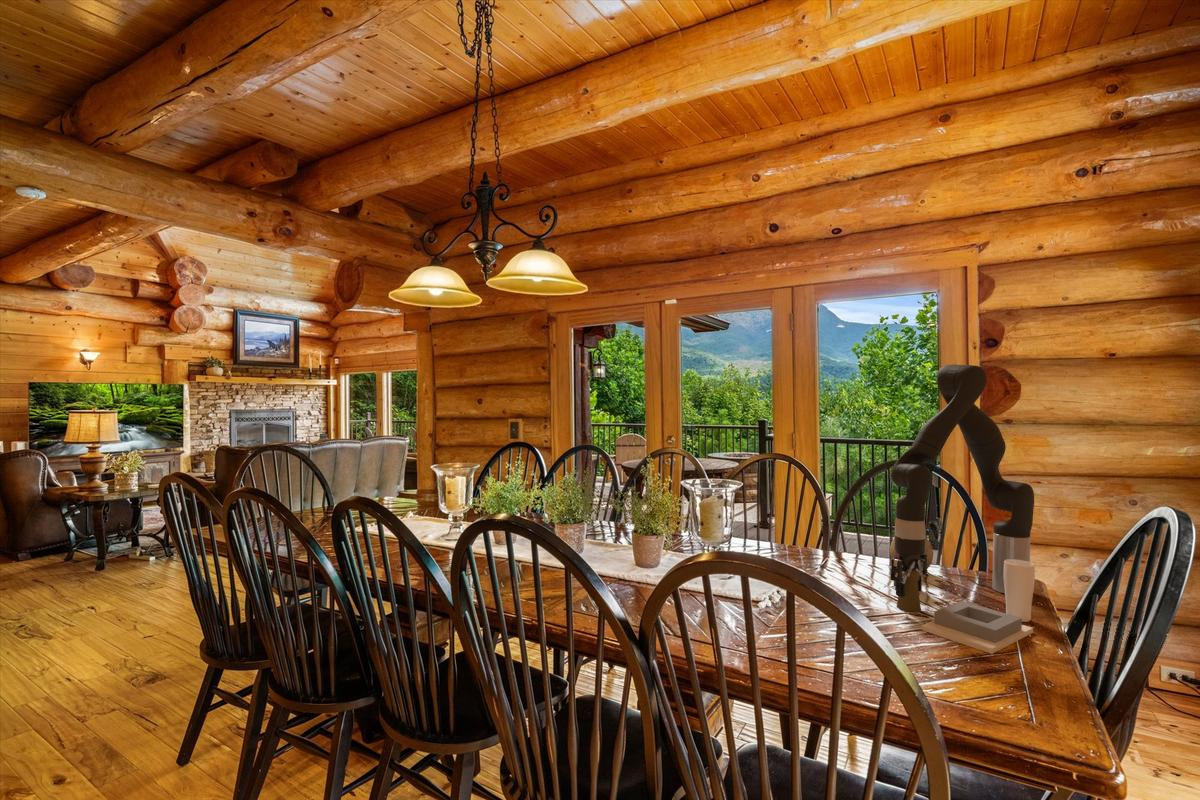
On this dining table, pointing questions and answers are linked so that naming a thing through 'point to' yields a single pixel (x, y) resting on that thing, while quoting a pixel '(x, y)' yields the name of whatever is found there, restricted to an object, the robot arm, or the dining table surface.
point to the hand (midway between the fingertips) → (908, 593)
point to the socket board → (974, 639)
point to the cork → (910, 594)
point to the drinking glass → (1019, 588)
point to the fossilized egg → (927, 551)
